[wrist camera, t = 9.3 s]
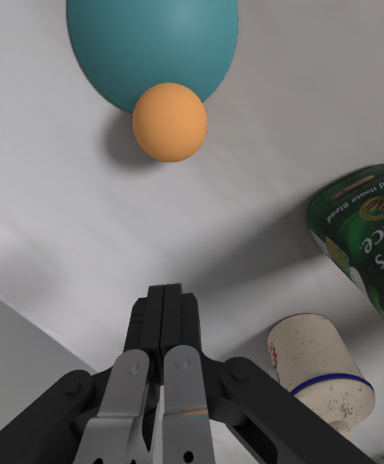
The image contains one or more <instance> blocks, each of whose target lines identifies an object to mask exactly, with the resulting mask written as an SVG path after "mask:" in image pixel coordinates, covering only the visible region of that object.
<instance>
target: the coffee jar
mask: <svg viewBox="0 0 384 464" xmlns="http://www.w3.org/2000/svg"><path fill="white" fill-rule="evenodd" d="M308 224H309V227H310V230H311V233H312V235H313V237H314V239H315V241H316V242H317V244H318V245H319V246H320V248H321V249H322V250H323V251H324V253H325V254H326V255H327V256H328V257H329V258H330V259H331V260H332V261H333V262H334V263H335V264H336V266H337V267H338V268H339V269H340V270H341V271H342V272H343V273H344V274H345V275H346V276H347V277H348V278H349V279H350V280H351V281H352V282H353V283H354V284H355V285H356V286H357V287H358V288H359V289H360V290H361V291H362V292H363V294H364V295H365V296H366V297H367V298H368V299H369V300H370V302H371V303H372V304H373V306H374V307H375V308H376V309H377V310H378V312H379V313H380V314H381V316H382V317H383V318H384V164H379V165H376V166H373V167H370V168H367V169H365V170H363V171H360V172H358V173H356V174H354V175H352V176H350V177H348V178H346V179H344V180H342V181H340V182H338V183H337V184H335V185H334V186H332V187H330V188H329V189H327V190H326V191H324V192H323V193H321V194H320V195H319V196H317V197H316V198H315V200H314V201H313V202H312V204H311V205H310V208H309V211H308Z"/></svg>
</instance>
